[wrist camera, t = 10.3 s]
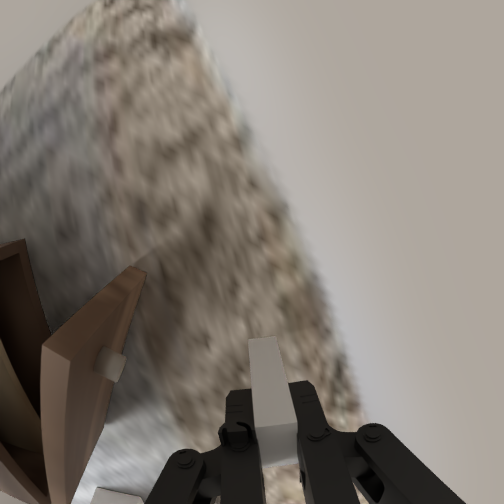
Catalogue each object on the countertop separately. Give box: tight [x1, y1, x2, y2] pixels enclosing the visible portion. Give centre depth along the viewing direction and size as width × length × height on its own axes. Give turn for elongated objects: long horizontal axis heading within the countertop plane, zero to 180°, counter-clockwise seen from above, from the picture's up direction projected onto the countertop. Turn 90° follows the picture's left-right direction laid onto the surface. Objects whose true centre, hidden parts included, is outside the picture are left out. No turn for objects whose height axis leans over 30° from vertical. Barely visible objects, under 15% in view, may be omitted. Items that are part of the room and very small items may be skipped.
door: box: [40, 266, 147, 504], centre depth 15 cm, size 2×17×10 cm, turn 156°
